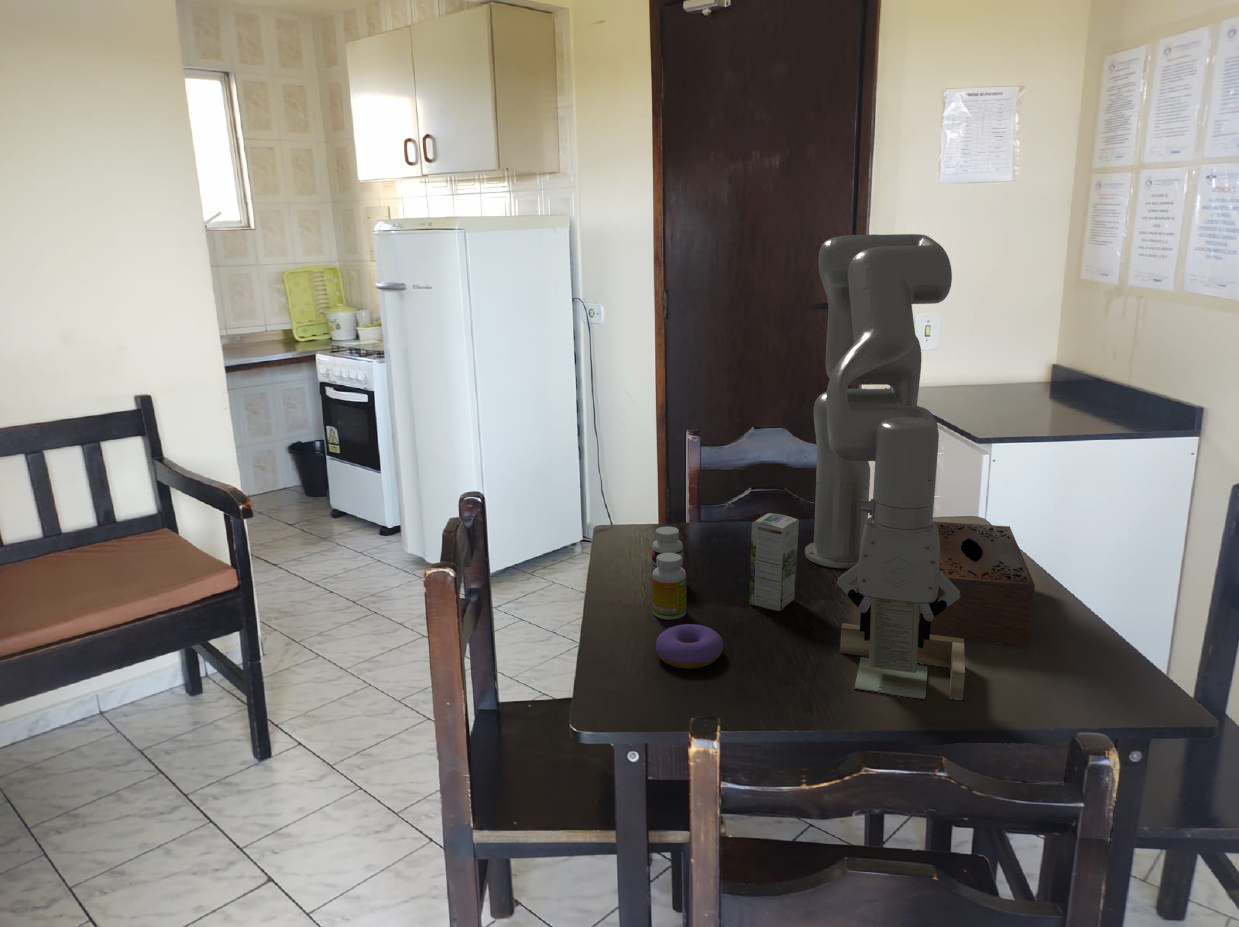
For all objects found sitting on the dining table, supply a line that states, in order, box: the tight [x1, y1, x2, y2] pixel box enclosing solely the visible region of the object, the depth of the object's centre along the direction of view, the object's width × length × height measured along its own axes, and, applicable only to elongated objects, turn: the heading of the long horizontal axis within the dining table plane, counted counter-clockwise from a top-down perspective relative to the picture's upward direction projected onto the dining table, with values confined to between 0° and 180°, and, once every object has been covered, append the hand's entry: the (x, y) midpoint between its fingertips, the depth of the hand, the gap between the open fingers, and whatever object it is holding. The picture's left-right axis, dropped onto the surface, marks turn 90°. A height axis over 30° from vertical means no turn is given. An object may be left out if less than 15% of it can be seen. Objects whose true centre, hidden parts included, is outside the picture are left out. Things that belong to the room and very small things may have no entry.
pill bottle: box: [651, 526, 684, 582], centre depth 152 cm, size 5×5×10 cm
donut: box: [655, 623, 724, 670], centre depth 127 cm, size 10×9×5 cm
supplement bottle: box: [651, 553, 687, 621], centre depth 140 cm, size 5×5×10 cm
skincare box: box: [868, 598, 921, 673], centre depth 117 cm, size 6×4×12 cm
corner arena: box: [839, 622, 966, 700], centre depth 120 cm, size 12×16×4 cm
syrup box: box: [748, 512, 800, 612], centre depth 142 cm, size 6×6×14 cm
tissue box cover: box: [920, 521, 1036, 647], centre depth 140 cm, size 26×14×10 cm, turn 164°
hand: (894, 638), depth 118 cm, fingers closed on skincare box, 6 cm apart
